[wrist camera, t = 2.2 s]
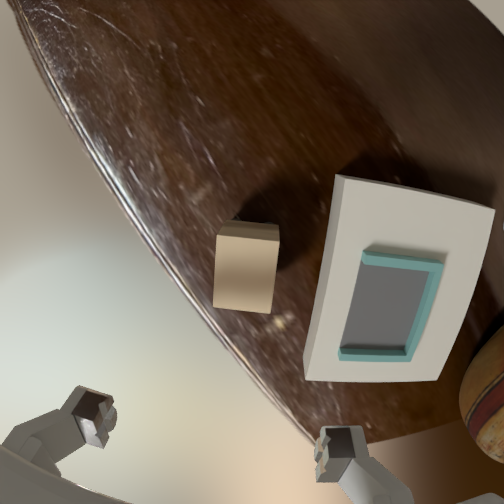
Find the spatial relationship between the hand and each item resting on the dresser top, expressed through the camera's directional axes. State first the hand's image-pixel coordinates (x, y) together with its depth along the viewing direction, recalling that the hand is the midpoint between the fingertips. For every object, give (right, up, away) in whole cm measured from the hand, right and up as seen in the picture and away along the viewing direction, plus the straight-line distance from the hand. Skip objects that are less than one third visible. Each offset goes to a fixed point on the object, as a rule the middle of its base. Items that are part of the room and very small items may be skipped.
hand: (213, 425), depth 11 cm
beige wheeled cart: (+1, +7, +20) cm, 21 cm away
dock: (+16, +3, +20) cm, 26 cm away
